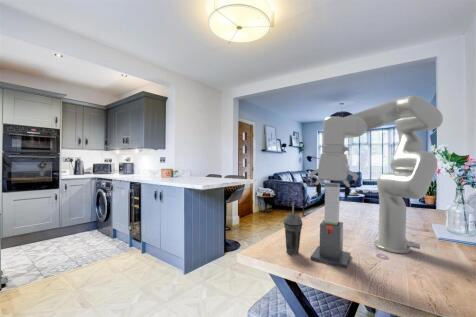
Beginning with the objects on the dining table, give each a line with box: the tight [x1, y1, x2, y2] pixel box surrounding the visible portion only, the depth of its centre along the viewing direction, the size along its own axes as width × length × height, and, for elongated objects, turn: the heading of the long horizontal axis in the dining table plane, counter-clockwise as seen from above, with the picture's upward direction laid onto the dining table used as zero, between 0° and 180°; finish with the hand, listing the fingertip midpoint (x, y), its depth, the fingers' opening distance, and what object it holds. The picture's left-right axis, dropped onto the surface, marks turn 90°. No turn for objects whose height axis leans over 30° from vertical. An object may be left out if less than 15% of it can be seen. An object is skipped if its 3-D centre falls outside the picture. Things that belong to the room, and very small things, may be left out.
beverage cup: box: [283, 202, 303, 256], centre depth 91 cm, size 7×7×20 cm
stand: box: [310, 219, 351, 269], centre depth 87 cm, size 12×12×13 cm
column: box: [324, 182, 341, 226], centre depth 87 cm, size 4×4×20 cm
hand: (332, 196), depth 87 cm, fingers open, 9 cm apart
